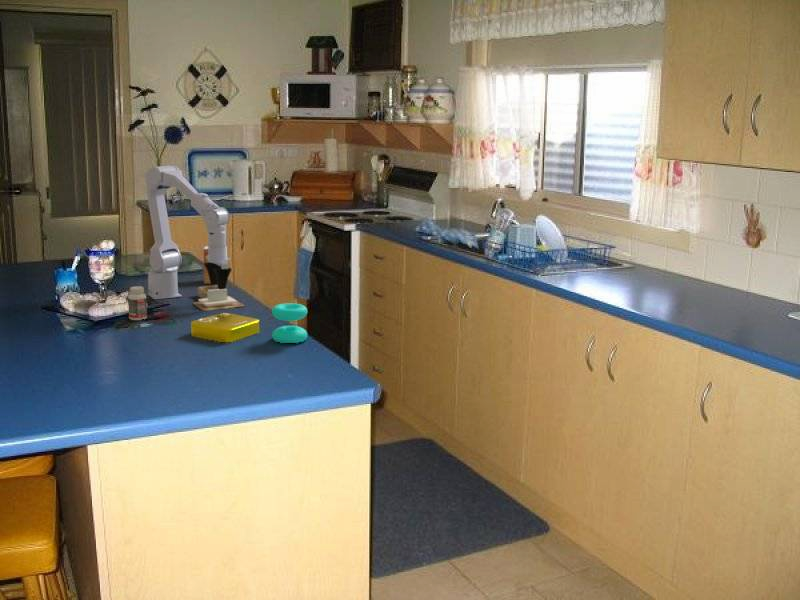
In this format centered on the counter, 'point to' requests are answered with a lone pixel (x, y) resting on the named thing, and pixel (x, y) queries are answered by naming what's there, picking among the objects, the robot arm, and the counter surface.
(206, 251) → the small box
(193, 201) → the robot arm
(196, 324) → the element tile
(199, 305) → the mat
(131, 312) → the pill bottle
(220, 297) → the lid
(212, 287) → the box
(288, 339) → the donuts
